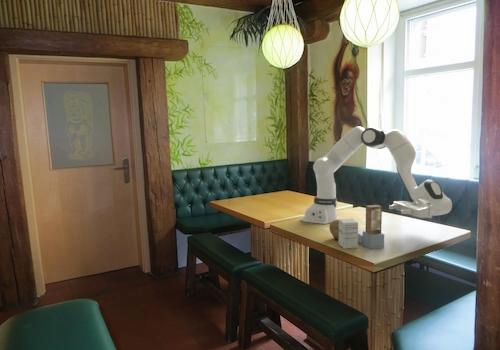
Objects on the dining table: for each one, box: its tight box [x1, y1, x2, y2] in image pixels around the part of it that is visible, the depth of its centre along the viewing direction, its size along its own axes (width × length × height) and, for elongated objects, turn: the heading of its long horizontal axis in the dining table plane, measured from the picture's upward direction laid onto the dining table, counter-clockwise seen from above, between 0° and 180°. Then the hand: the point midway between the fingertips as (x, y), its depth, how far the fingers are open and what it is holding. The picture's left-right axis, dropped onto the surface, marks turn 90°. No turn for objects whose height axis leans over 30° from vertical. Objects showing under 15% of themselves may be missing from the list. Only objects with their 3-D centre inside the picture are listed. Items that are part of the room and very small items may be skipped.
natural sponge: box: [328, 219, 339, 240], centre depth 196 cm, size 9×9×10 cm
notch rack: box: [358, 229, 385, 250], centre depth 188 cm, size 7×16×6 cm, turn 13°
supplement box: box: [338, 218, 359, 249], centre depth 184 cm, size 7×7×13 cm
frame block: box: [365, 204, 383, 234], centre depth 183 cm, size 6×4×13 cm
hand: (395, 209), depth 185 cm, fingers open, 8 cm apart
